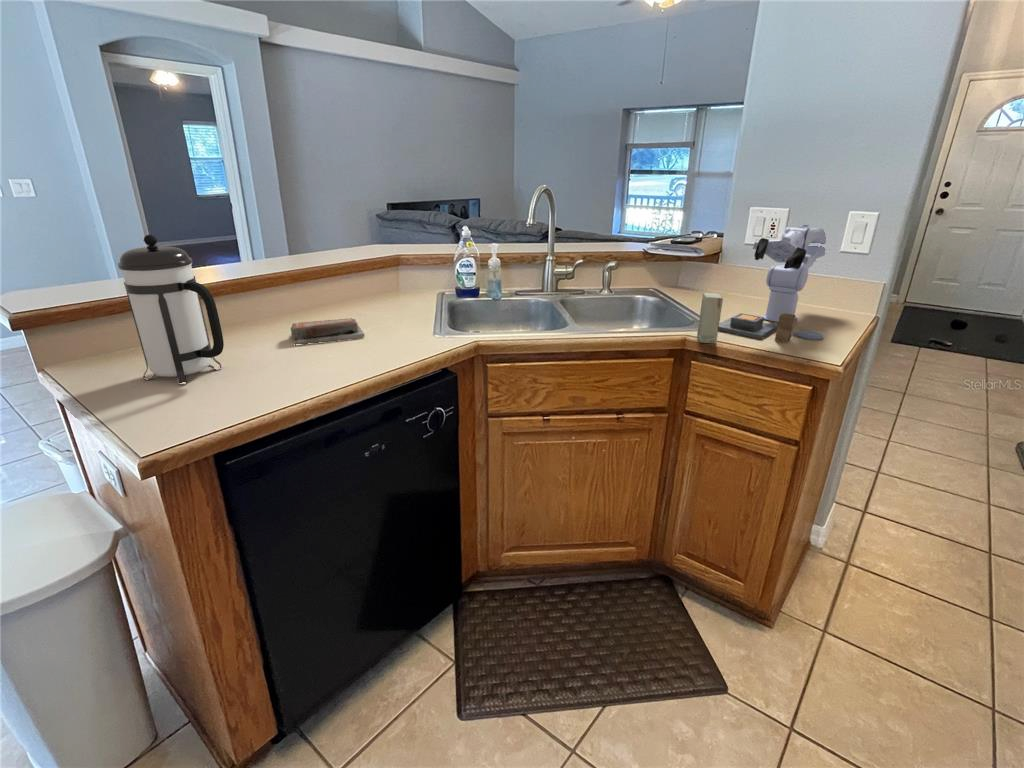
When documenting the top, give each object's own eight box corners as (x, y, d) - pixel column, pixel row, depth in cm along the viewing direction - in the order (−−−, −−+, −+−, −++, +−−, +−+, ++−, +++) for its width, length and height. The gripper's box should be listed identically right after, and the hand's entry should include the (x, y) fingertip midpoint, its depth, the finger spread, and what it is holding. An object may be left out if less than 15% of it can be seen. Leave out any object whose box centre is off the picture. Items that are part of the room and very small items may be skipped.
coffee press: (136, 393, 107) (92, 242, 96) (150, 367, 121) (113, 231, 109) (232, 381, 114) (201, 237, 102) (235, 357, 127) (208, 228, 115)
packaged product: (291, 329, 133) (288, 320, 142) (294, 348, 135) (291, 337, 144) (363, 322, 140) (357, 313, 149) (365, 339, 142) (359, 329, 150)
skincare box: (716, 344, 139) (724, 298, 134) (699, 343, 140) (706, 297, 135) (713, 336, 145) (720, 292, 140) (696, 335, 146) (703, 291, 141)
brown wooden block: (778, 337, 144) (783, 313, 142) (790, 340, 142) (795, 315, 140) (774, 340, 142) (779, 315, 140) (786, 342, 140) (792, 317, 138)
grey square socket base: (732, 320, 160) (734, 309, 158) (777, 329, 152) (779, 317, 150) (713, 329, 151) (715, 317, 150) (760, 339, 143) (763, 326, 141)
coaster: (799, 330, 150) (799, 328, 150) (826, 336, 146) (826, 333, 146) (791, 336, 146) (791, 334, 145) (818, 341, 141) (819, 339, 141)
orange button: (742, 318, 153) (742, 314, 153) (757, 321, 150) (758, 317, 150) (736, 321, 150) (736, 317, 150) (751, 324, 147) (752, 320, 147)
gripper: (765, 225, 149) (749, 238, 140) (820, 240, 142) (805, 254, 133) (757, 249, 153) (740, 263, 145) (810, 264, 146) (795, 279, 138)
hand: (771, 260), depth 139 cm, fingers open, 7 cm apart
